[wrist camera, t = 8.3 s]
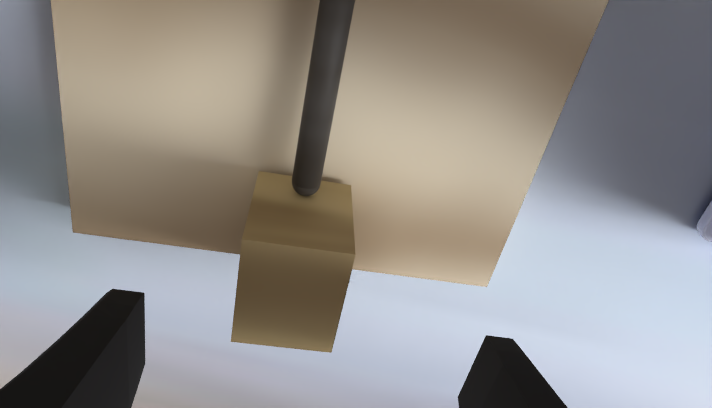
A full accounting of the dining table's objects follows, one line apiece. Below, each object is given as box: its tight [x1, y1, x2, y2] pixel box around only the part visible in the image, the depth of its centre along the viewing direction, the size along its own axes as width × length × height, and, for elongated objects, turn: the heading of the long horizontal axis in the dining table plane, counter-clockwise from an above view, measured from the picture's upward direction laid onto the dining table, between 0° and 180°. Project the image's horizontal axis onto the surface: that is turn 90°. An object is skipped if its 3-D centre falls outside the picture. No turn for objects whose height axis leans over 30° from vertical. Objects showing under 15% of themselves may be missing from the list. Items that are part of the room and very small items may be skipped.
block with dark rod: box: [231, 0, 356, 352], centre depth 9 cm, size 16×6×4 cm, turn 169°
